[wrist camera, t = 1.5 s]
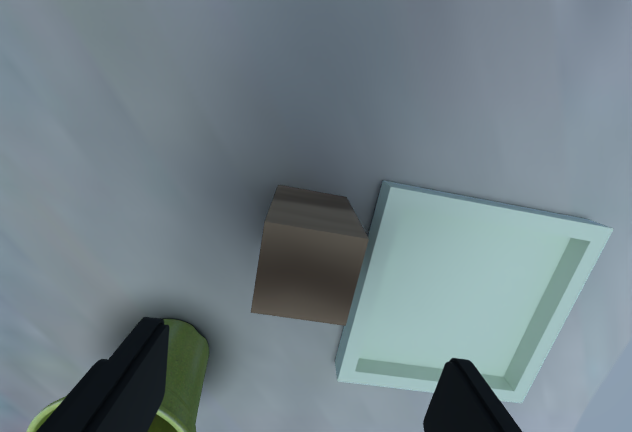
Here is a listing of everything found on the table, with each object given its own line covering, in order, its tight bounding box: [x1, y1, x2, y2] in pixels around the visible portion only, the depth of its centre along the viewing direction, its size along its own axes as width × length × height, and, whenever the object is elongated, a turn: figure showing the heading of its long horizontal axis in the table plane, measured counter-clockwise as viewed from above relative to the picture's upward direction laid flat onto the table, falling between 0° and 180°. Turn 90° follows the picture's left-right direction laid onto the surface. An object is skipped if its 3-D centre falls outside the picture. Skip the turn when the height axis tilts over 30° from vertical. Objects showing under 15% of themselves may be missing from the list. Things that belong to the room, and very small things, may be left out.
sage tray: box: [335, 180, 614, 403], centre depth 24 cm, size 16×16×2 cm
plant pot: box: [26, 319, 209, 432], centre depth 21 cm, size 9×9×9 cm
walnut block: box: [251, 185, 369, 326], centre depth 19 cm, size 5×5×8 cm
